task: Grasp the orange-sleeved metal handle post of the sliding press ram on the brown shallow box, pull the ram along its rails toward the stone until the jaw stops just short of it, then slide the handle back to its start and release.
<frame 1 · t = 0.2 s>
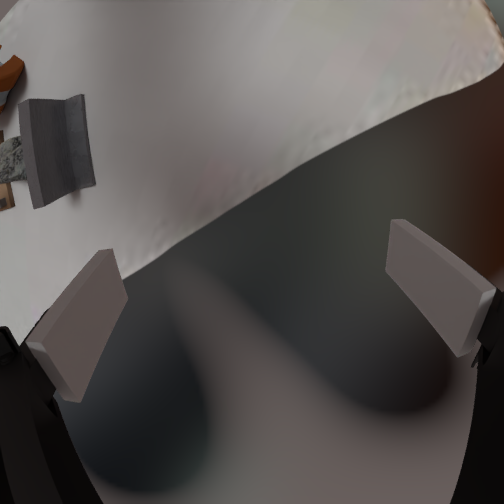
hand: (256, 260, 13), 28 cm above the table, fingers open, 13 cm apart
angle bracket: (67, 145, 34), on the table
stone: (34, 156, 34), on the table
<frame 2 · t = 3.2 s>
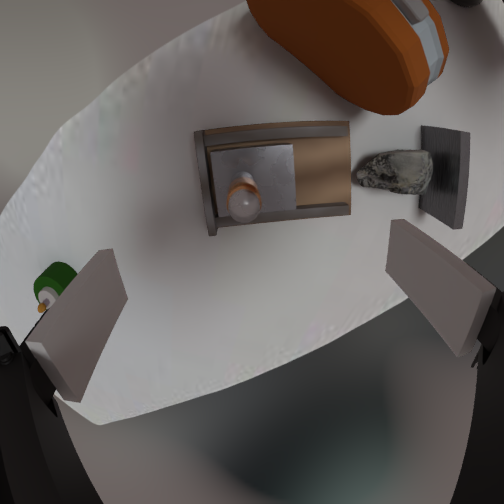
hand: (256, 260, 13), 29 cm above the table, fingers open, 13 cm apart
alarm clock: (324, 43, 32), on the table
angle bracket: (425, 167, 40), on the table
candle: (64, 280, 46), on the table
brown shallow box: (277, 171, 40), on the table
ram: (256, 187, 32), point 9 cm above the table, slide at 0.0 cm
stone: (387, 166, 40), on the table
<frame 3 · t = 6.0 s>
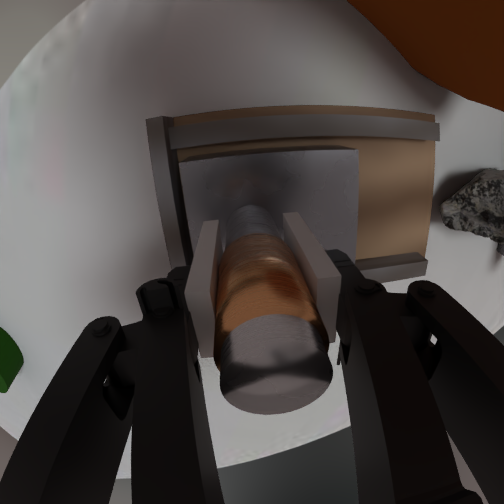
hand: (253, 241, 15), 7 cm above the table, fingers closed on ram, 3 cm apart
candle: (2, 344, 27), on the table
brown shallow box: (313, 199, 21), on the table
ram: (288, 253, 13), point 9 cm above the table, slide at 0.0 cm, touching gripper
stone: (472, 192, 22), on the table
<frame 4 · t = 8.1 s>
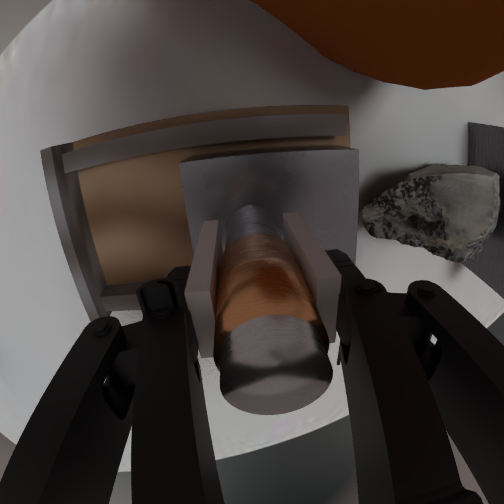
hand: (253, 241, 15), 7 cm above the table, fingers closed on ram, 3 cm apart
angle bracket: (472, 193, 22), on the table
brown shallow box: (207, 209, 21), on the table
ram: (288, 253, 13), point 9 cm above the table, slide at 7.9 cm, touching gripper
stone: (415, 193, 22), on the table
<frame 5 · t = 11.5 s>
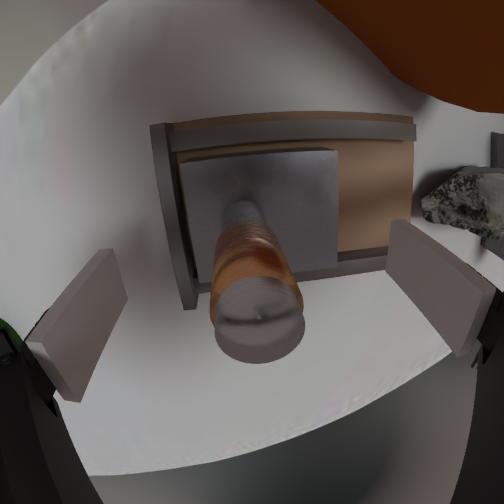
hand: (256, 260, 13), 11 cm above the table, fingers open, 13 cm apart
angle bracket: (493, 190, 24), on the table
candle: (6, 339, 28), on the table
brown shallow box: (299, 196, 24), on the table
ram: (274, 239, 15), point 9 cm above the table, slide at 0.0 cm
stone: (453, 189, 24), on the table
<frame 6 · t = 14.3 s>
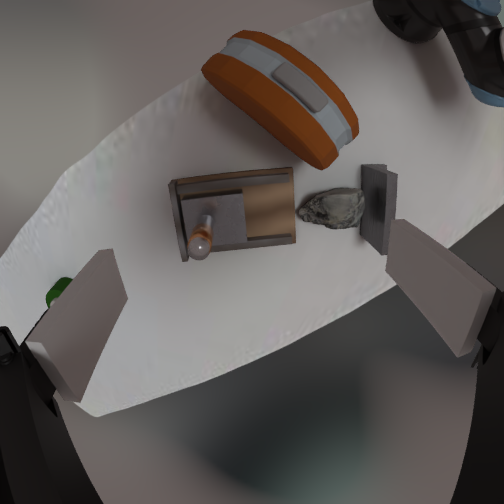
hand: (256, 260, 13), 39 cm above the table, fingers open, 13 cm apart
alarm clock: (274, 100, 44), on the table
angle bracket: (365, 200, 52), on the table
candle: (70, 292, 57), on the table
brown shallow box: (235, 210, 52), on the table
ram: (213, 229, 44), point 9 cm above the table, slide at 0.0 cm
stone: (329, 201, 52), on the table
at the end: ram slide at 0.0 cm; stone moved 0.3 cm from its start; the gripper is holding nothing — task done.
